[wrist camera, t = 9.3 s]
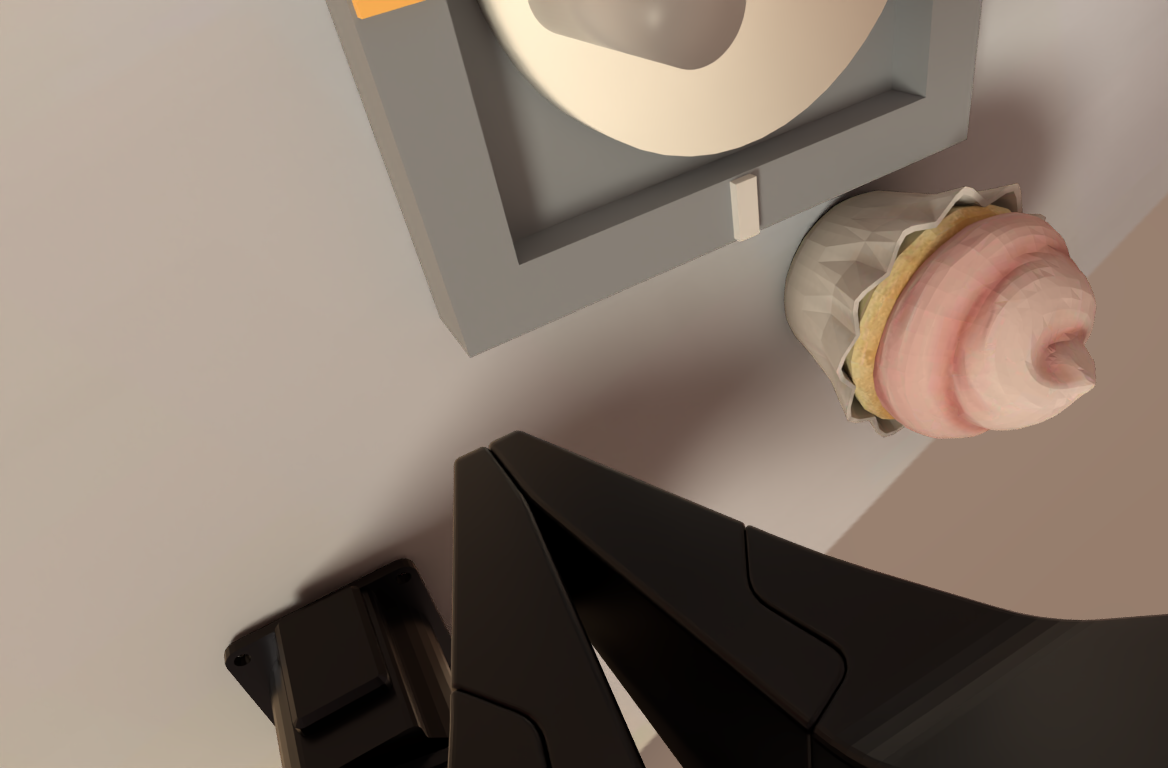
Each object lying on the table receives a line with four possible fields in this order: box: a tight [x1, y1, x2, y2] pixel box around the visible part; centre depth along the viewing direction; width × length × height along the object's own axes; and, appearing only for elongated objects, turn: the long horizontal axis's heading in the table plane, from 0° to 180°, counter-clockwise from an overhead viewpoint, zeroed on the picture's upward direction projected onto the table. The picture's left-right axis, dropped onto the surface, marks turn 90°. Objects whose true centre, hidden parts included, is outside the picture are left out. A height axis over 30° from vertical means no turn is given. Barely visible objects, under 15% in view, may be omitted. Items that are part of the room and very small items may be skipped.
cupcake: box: [784, 183, 1096, 438], centre depth 26 cm, size 9×9×10 cm
